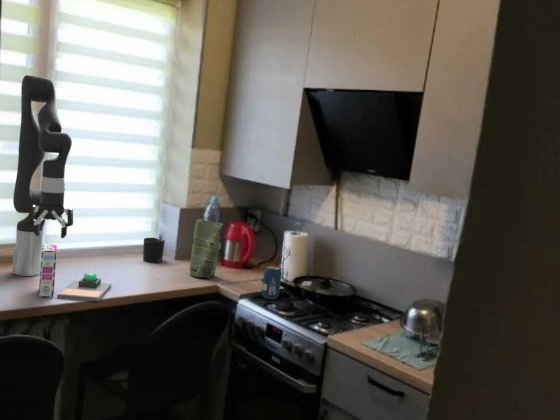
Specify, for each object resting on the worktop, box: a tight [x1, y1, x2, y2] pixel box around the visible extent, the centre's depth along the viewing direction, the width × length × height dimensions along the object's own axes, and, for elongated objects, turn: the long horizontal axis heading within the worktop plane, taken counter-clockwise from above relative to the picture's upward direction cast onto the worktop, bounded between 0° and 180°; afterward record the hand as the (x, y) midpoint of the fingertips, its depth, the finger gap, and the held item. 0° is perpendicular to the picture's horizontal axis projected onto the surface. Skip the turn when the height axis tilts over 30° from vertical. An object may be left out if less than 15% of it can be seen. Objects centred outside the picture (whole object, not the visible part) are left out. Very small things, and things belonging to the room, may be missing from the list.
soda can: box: [261, 265, 282, 300], centre depth 224 cm, size 7×7×12 cm
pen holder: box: [142, 237, 165, 264], centre depth 263 cm, size 9×9×10 cm
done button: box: [83, 272, 98, 282], centre depth 210 cm, size 4×4×2 cm
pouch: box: [189, 218, 224, 279], centre depth 244 cm, size 11×12×25 cm
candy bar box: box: [38, 244, 58, 299], centre depth 198 cm, size 11×5×16 cm, turn 21°
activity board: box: [56, 276, 112, 302], centre depth 205 cm, size 14×19×3 cm
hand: (50, 236), depth 197 cm, fingers open, 8 cm apart
